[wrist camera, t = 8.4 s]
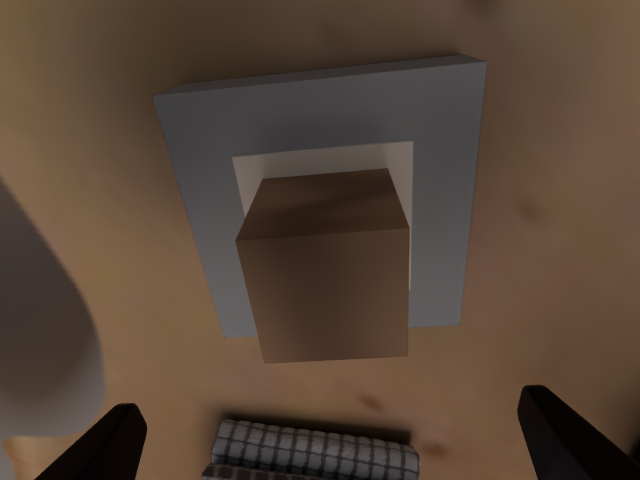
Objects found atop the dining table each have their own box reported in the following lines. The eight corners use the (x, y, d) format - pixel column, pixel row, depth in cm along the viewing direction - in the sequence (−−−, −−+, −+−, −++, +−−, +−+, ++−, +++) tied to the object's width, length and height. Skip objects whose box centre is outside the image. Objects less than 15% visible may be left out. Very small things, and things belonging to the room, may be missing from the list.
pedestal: (462, 54, 16) (489, 61, 13) (444, 288, 22) (460, 327, 19) (180, 84, 17) (150, 96, 14) (236, 301, 23) (223, 340, 20)
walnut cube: (387, 168, 15) (409, 228, 11) (389, 273, 18) (407, 356, 13) (262, 178, 16) (235, 241, 11) (281, 280, 18) (264, 363, 14)
